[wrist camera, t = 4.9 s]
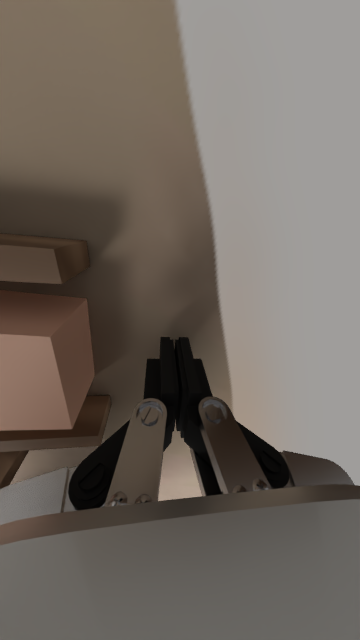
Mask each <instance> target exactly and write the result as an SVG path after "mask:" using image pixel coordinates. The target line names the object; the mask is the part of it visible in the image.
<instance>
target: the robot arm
mask: <svg viewBox="0 0 360 640" xmlns="http://www.w3.org/2000/svg"><path fill="white" fill-rule="evenodd" d="M175 419H176V428H177V431H180V432H181V438H184V442H185V443H186V444H187V445H189V446H190V452H191V456H192V460H193V463H194V467H195V471H196V475H197V479H198V482H199V486H200V490H201V494H202V497H193V498H184V499H174V500H165V501H158V494H159V486H160V477H161V468H162V459H163V452H164V451H165V449H166V448H167V447H168V446H169V444H170V443H171V439H172V431H174V427H175ZM0 640H360V486H357V485H354V483H353V481H352V480H351V478H350V477H349V476H348V474H347V473H346V472H345V471H344V470H343V469H342V468H341V467H340V466H339V465H337V464H336V463H334V462H332V461H330V460H327V459H323V458H318V457H313V456H308V455H303V454H298V453H293V452H288V451H283V452H278V451H277V450H276V449H275V448H274V447H272V446H271V445H269V444H268V443H267V442H265V441H264V440H262V439H261V438H259V437H258V436H257V435H255V434H254V433H252V432H251V431H249V430H248V429H247V428H245V427H244V426H243V425H241V424H240V423H238V422H237V421H236V420H235V418H234V416H233V414H232V412H231V411H230V409H229V407H228V406H227V404H226V403H225V402H224V401H223V400H221V399H219V398H217V397H213V396H212V393H211V390H210V386H209V383H208V380H207V377H206V373H205V370H204V367H203V363H202V360H201V359H193V355H192V351H191V347H190V343H189V339H188V337H179V340H175V350H174V343H173V340H170V337H161V342H160V359H147V367H146V378H145V389H144V400H142V401H141V402H139V403H138V404H137V405H136V406H135V408H134V410H133V413H132V416H131V419H130V420H129V421H128V422H127V423H126V424H125V425H123V426H122V427H121V428H120V429H119V430H118V431H117V432H115V433H114V434H113V435H112V436H111V437H110V438H109V439H107V440H106V441H105V442H104V443H103V444H102V445H101V446H99V447H98V448H97V449H96V450H95V451H94V452H93V453H91V454H90V455H89V456H88V457H87V458H86V459H85V460H83V461H82V462H81V463H80V465H79V466H75V467H72V468H68V467H65V468H62V469H59V470H55V471H52V472H49V473H46V474H43V475H40V476H37V477H34V478H31V479H27V480H24V481H21V482H18V483H15V484H12V485H9V486H6V487H4V488H2V489H0Z"/></svg>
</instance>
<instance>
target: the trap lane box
mask: <svg viewBox="0 0 360 640" xmlns="http://www.w3.org/2000/svg"><path fill="white" fill-rule="evenodd" d="M88 267H90V261H89V255H88V248H87V241H83V240H71V239H60V238H48V237H37V236H26V235H14V234H3V233H0V281H14V282H32V283H50V284H63V283H65V282H66V281H68V280H69V279H71V278H72V277H74V276H76V275H77V274H79V273H80V272H82V271H84V270H85V269H87V268H88ZM110 408H111V401H110V395H108V396H86V398H85V400H84V402H83V405H82V407H81V409H80V412H79V414H78V417H77V419H76V421H75V424H74V426H73V428H72V429H59V430H5V431H0V489H2V488H4V487H6V486H9V485H10V483H11V481H12V479H13V478H14V476H15V474H16V472H17V471H18V469H19V467H20V465H21V464H22V462H23V460H24V458H25V457H26V455H27V453H28V451H29V450H41V449H57V448H72V447H88V446H101V442H102V438H103V434H104V430H105V427H106V423H107V419H108V415H109V411H110Z"/></svg>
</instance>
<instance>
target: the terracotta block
mask: <svg viewBox="0 0 360 640" xmlns="http://www.w3.org/2000/svg"><path fill="white" fill-rule="evenodd" d="M94 376H95V371H94V362H93V352H92V343H91V333H90V324H89V314H88V305H87V299H86V298H76V297H66V296H56V295H46V294H35V293H25V292H15V291H5V290H0V431H5V430H59V429H72V428H73V426H74V424H75V421H76V419H77V417H78V414H79V412H80V409H81V407H82V405H83V402H84V400H85V398H86V395H87V393H88V390H89V388H90V386H91V383H92V381H93V379H94Z"/></svg>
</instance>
